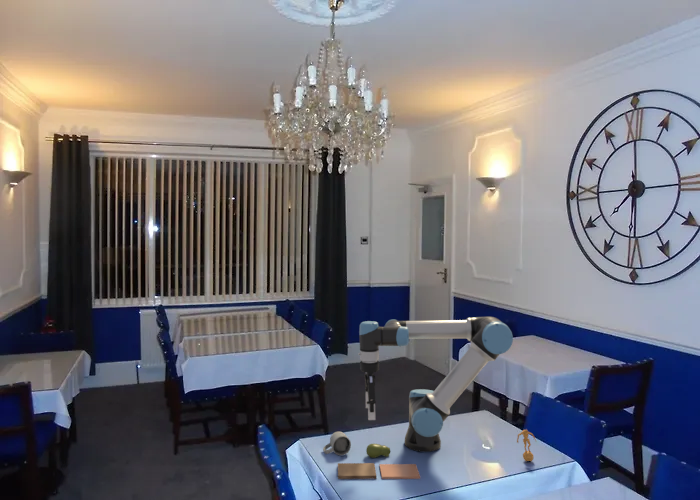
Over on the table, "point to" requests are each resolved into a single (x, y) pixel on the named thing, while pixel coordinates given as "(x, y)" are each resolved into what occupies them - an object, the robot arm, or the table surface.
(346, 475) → the walnut board
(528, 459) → the figurine
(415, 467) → the terracotta tile
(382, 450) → the green oblong lump
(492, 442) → the table surface
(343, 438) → the ceramic mug
